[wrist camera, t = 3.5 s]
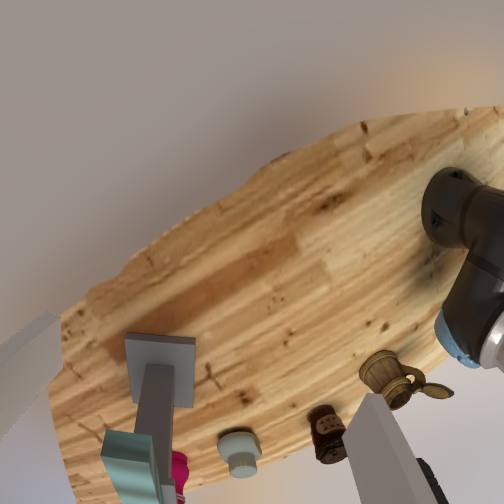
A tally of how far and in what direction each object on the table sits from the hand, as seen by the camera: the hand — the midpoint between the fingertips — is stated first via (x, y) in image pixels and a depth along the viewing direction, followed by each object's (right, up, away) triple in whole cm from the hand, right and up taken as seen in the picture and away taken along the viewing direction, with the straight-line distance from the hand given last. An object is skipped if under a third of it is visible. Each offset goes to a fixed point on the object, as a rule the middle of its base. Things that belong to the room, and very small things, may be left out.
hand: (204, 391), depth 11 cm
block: (-10, -22, +14) cm, 28 cm away
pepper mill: (-17, -45, +52) cm, 71 cm away
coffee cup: (+17, -31, +52) cm, 63 cm away
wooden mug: (+31, -18, +50) cm, 61 cm away
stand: (-15, -16, +42) cm, 47 cm away
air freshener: (-1, -38, +52) cm, 64 cm away
